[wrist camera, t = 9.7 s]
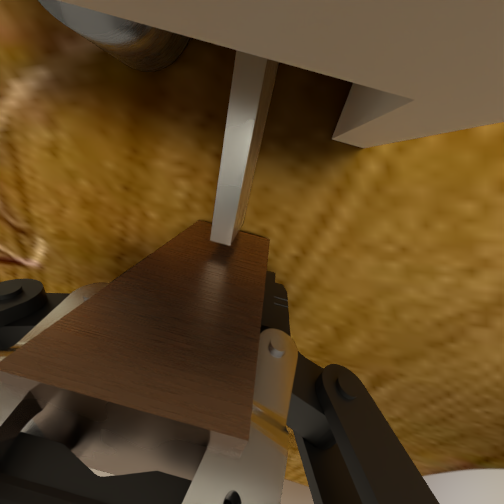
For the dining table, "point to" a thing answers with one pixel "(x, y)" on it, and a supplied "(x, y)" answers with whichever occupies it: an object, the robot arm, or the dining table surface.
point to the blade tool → (166, 330)
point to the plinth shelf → (361, 54)
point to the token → (121, 36)
